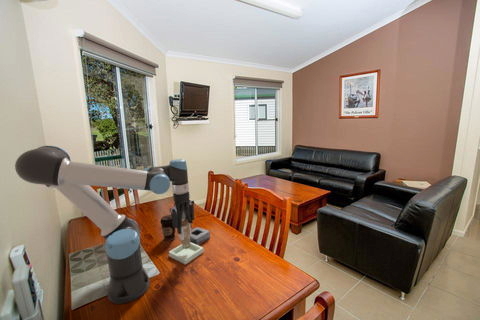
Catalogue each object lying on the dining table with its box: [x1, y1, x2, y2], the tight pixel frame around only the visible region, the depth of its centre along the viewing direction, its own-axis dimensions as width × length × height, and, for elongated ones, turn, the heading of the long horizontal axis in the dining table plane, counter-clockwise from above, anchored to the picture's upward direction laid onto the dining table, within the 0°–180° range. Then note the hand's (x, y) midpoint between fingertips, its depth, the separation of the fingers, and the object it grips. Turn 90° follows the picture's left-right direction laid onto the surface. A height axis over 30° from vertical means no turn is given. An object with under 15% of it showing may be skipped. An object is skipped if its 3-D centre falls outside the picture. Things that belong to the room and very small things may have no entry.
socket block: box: [190, 226, 211, 246], centre depth 128 cm, size 10×10×4 cm
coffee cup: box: [159, 214, 177, 242], centre depth 129 cm, size 9×8×13 cm
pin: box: [181, 218, 190, 249], centre depth 113 cm, size 4×4×14 cm
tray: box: [168, 242, 205, 266], centre depth 114 cm, size 12×12×2 cm
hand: (185, 236), depth 113 cm, fingers closed on pin, 4 cm apart
